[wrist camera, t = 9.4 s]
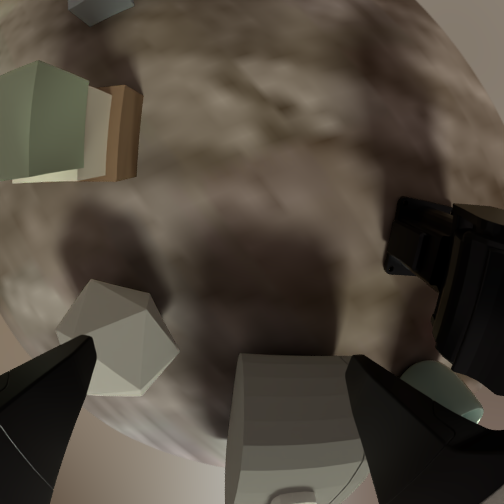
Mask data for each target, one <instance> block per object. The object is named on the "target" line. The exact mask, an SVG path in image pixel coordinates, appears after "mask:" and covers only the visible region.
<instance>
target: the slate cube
mask: <svg viewBox="0 0 504 504" xmlns="http://www.w3.org/2000/svg"><path fill="white" fill-rule="evenodd" d="M133 6H135V5H134V0H68V10H69V11H70V12H72V13H73V14H74V15H76V16H77V17H78V18H79V19H81V20H82V21H83V22H85V23H86V24H87V25H88V26H90V27H91V26H93V25H95V24H97V23H99V22H101V21H103V20H105V19H107V18H109V17H111V16H113V15H115V14H117V13H119V12H121V11H124V10H126V9H128V8H131V7H133Z"/></svg>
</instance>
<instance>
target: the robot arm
mask: <svg viewBox="0 0 504 504" xmlns="http://www.w3.org/2000/svg"><path fill="white" fill-rule="evenodd" d="M404 200H405V205H403V201H404ZM450 212H451V214H450ZM387 251H388V253H387V257H386V262H385V266H384V270H385V272H386V273H388V274H391V275H408V276H417V277H419V278H420V279H421V280H423V281H424V282H425V283H426V284H428V285H429V286H430V287H431V288H433V289H434V290H435V291H436V292H438V293H439V296H438V300H437V304H436V308H435V312H434V314H433V315H432V318H431V323H432V326H433V331H432V333H433V336H434V338H435V341H436V346H435V347H436V349H437V351H438V352H439V353H440V354H441V355H442V356H443V357H444V358H445V359H447V360H448V361H449V362H450V363H451V364H453V365H452V367H451V370H452V371H453V372H457V373H460V374H464V375H467V376H469V377H471V378H473V379H475V380H477V381H479V382H480V383H481V384H483V385H484V386H485V387H487V388H488V389H489V390H491V391H492V392H493V393H494V394H496V395H500V396H504V210H502V209H499V208H495V207H491V206H480V205H468V204H455V203H453V208H452V207H449V206H445V205H440V204H436V203H432V202H428V201H423V200H419V199H414V198H409V197H405V196H402V197H400V198H399V200H398V204H397V210H396V215H395V221H394V222H393V226H392V231H391V236H390V240H389V245H388V249H387ZM390 266H392V267H391V269H390V270H389V267H390ZM96 361H97V353H96V349H95V345H94V341H93V338H92V337H91V336H88V335H83V334H82V335H79V336H77V337H75V338H73V339H71V340H69V341H67V342H65V343H63V344H61V345H59V346H57V347H55V348H53V349H51V350H49V351H47V352H45V353H43V354H42V355H40V356H38V357H36V358H34V359H32V360H30V361H28V362H26V363H24V364H22V365H20V366H18V367H16V368H14V369H12V370H10V372H9V371H8V372H6V373H4V374H2V375H0V504H50V501H51V497H52V493H53V489H54V486H55V483H56V479H57V476H58V473H59V469H60V466H61V463H62V460H63V457H64V454H65V451H66V448H67V445H68V442H69V440H70V437H71V434H72V431H73V428H74V426H75V423H76V420H77V418H78V415H79V413H80V410H81V408H82V405H83V403H84V400H85V397H86V395H87V392H88V388H89V385H90V381H91V378H92V374H93V371H94V368H95V364H96ZM345 380H346V385H347V390H348V395H349V400H350V405H351V410H352V414H353V418H354V421H355V424H356V427H357V430H358V433H359V437H360V440H361V443H362V446H363V450H364V453H365V456H366V460H367V463H368V466H369V470H370V473H371V476H372V480H373V484H374V487H375V491H376V494H377V498H378V502H379V504H504V430H491V429H487V428H485V427H482V426H481V425H478V424H476V423H474V422H472V421H470V420H468V419H466V418H464V417H462V416H460V415H459V414H457V413H455V412H453V411H451V410H449V409H448V408H446V407H444V406H443V405H441V404H439V403H438V402H436V401H435V400H433V399H431V398H430V397H428V396H427V395H425V394H423V393H422V392H420V391H419V390H417V389H416V388H414V387H412V386H411V385H409V384H408V383H406V382H405V381H403V380H402V379H400V378H398V377H397V376H395V375H394V374H392V373H391V372H389V371H388V370H386V369H385V368H383V367H382V366H380V365H378V364H377V363H375V362H374V361H372V360H371V359H369V358H368V357H366V356H365V355H362V354H361V355H353V356H352V357H351V359H350V361H349V364H348V367H347V369H346V372H345Z"/></svg>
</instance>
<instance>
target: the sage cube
mask: <svg viewBox="0 0 504 504" xmlns="http://www.w3.org/2000/svg"><path fill="white" fill-rule="evenodd" d="M88 87H89V81H88V80H86V79H84V78H81V77H79V76H77V75H74V74H72V73H70V72H67V71H65V70H62V69H60V68H57V67H55V66H52V65H50V64H47V63H45V62H42V61H39V60H38V61H35V62H32V63H29V64H27V65H24V66H22V67H19V68H17V69H14V70H12V71H10V72H7V73H5V74H3V75H1V76H0V181H6V180H12V179H19V178H27V177H33V176H38V175H43V174H49V173H54V172H60V171H67V170H73V169H80V168H84V137H85V119H86V106H87V96H88Z"/></svg>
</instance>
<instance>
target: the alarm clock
mask: <svg viewBox="0 0 504 504" xmlns="http://www.w3.org/2000/svg"><path fill="white" fill-rule="evenodd" d="M351 357H352V356H287V355H263V354H246V353H240V354H239V357H238V361H237V368H236V375H235V382H234V389H233V397H232V405H231V413H230V421H229V429H228V438H227V448H226V466H225V504H341V503H342V502H344V501H345V500H346V498H348V497H349V496H350V495H351V494H352V492H354V490H355V489H357V488H358V486H359V485H360V484H361V483H362V482H363V481H364V480H365V479H366V477H367V476H368V474H369V473H370V470H369V466H368V463H367V460H366V456H365V453H364V450H363V446H362V443H361V440H360V437H359V433H358V430H357V427H356V424H355V421H354V418H353V414H352V410H351V405H350V400H349V395H348V390H347V385H346V380H345V372H346V369H347V367H348V364H349V361H350V359H351Z"/></svg>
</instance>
